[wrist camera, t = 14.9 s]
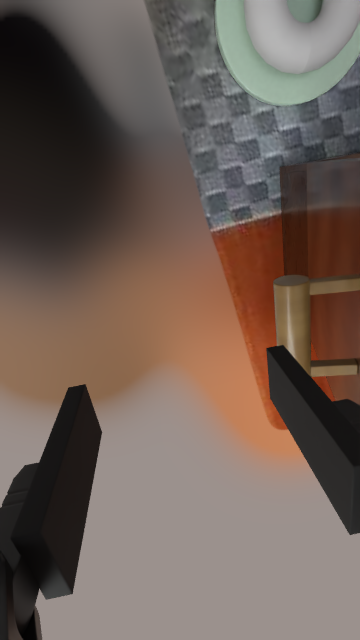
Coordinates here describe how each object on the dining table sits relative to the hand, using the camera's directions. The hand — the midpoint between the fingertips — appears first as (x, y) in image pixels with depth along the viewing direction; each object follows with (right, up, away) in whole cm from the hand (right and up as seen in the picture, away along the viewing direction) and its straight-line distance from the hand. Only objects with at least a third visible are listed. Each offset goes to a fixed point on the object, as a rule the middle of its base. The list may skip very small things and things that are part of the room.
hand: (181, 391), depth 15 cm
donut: (+10, +30, +13) cm, 34 cm away
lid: (+11, +5, +8) cm, 14 cm away
